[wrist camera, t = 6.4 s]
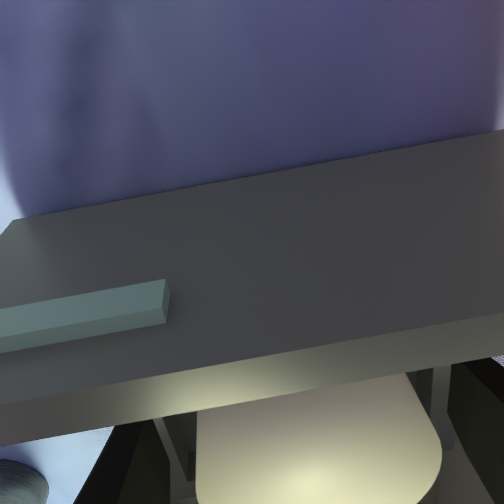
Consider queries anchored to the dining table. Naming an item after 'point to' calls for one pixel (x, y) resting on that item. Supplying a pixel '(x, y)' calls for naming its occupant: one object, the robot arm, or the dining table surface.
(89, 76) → the dining table surface
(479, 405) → the robot arm
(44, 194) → the dining table surface
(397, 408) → the cream cylinder
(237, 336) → the grey box with handle
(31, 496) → the stand
